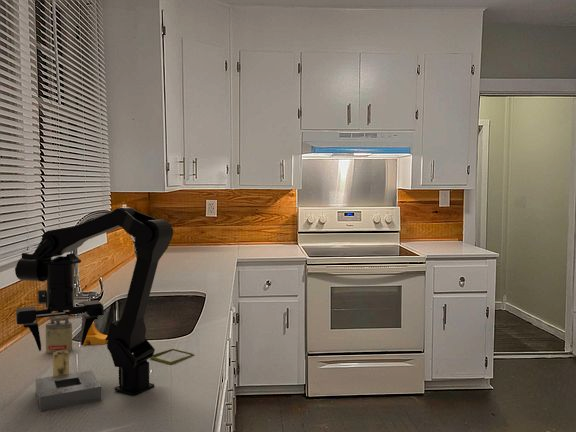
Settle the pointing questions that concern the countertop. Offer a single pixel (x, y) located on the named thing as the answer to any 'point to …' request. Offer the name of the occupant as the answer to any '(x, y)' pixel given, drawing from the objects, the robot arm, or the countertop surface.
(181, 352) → the olive piece
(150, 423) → the countertop surface
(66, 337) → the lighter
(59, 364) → the bushing
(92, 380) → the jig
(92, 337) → the pipe clamp
